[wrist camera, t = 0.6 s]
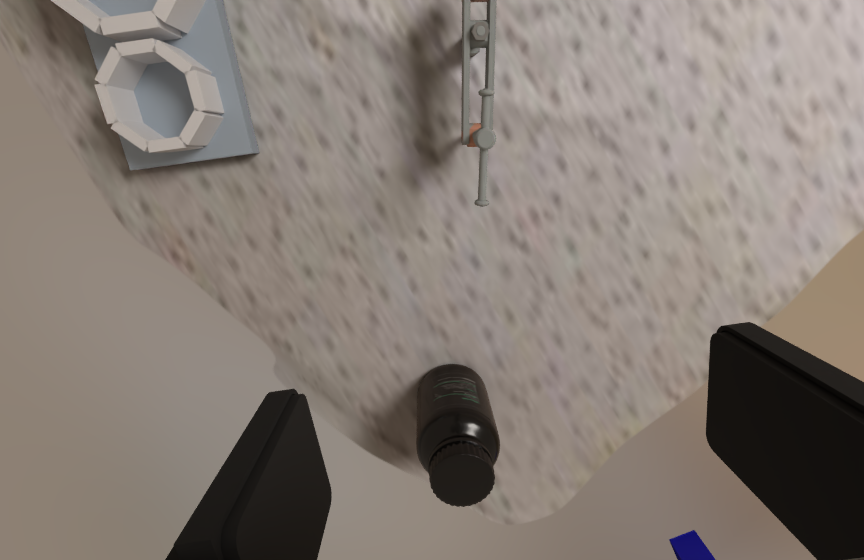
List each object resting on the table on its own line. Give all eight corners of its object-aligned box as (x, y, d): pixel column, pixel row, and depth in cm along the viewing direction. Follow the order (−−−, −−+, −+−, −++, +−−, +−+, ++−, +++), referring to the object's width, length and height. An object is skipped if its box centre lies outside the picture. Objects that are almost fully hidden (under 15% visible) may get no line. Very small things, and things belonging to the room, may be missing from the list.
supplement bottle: (475, 427, 44) (494, 525, 33) (410, 415, 44) (406, 510, 32) (493, 369, 42) (520, 451, 31) (426, 355, 42) (427, 433, 30)
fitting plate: (48, -109, 30) (-13, -151, 26) (195, -131, 30) (158, -178, 26) (138, 169, 36) (99, 172, 32) (262, 152, 36) (241, 152, 32)
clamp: (456, -19, 32) (470, -71, 23) (485, -19, 32) (511, -72, 23) (456, 184, 38) (467, 208, 29) (481, 184, 38) (500, 207, 29)
